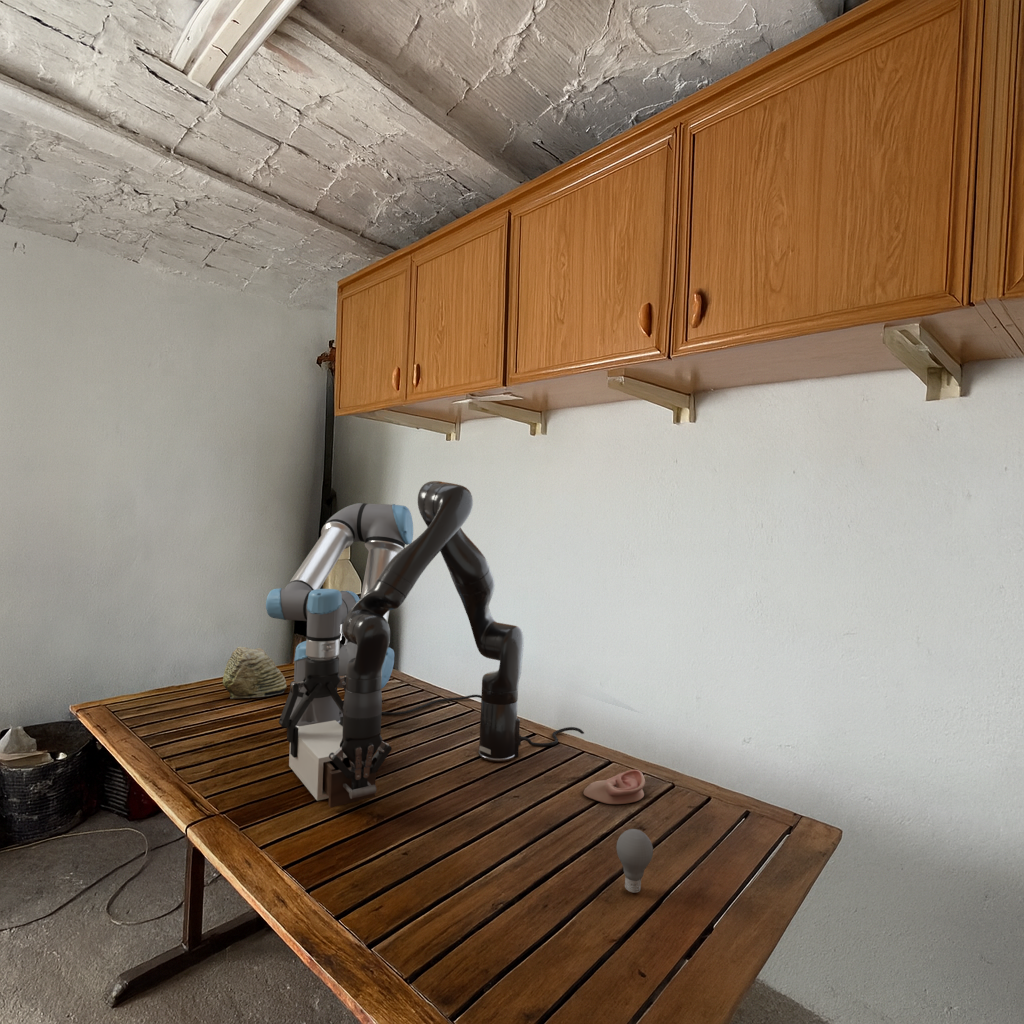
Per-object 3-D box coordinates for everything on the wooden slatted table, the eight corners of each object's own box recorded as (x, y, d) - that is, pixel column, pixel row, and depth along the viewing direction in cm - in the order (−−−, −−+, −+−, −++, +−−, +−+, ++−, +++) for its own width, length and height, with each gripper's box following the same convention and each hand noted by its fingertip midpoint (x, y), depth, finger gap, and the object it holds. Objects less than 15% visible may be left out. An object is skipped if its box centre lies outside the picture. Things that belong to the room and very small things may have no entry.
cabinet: (366, 789, 138) (367, 748, 138) (317, 801, 132) (318, 758, 132) (333, 756, 154) (335, 720, 154) (288, 765, 148) (290, 727, 148)
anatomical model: (582, 782, 137) (587, 761, 148) (581, 800, 137) (586, 778, 148) (645, 790, 134) (645, 768, 145) (644, 809, 134) (644, 785, 145)
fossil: (218, 695, 195) (220, 647, 195) (278, 685, 208) (279, 640, 207) (228, 703, 189) (230, 653, 188) (289, 692, 201) (290, 645, 201)
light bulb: (610, 879, 108) (613, 822, 108) (644, 879, 109) (647, 822, 109) (619, 902, 102) (622, 840, 102) (655, 901, 103) (658, 840, 103)
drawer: (386, 807, 128) (387, 773, 128) (340, 819, 123) (341, 784, 123) (342, 764, 148) (344, 735, 148) (301, 773, 142) (302, 742, 142)
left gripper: (275, 666, 137) (271, 766, 138) (376, 654, 151) (372, 746, 151) (266, 658, 143) (262, 754, 144) (363, 648, 157) (360, 736, 157)
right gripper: (336, 721, 120) (333, 811, 121) (400, 710, 128) (397, 795, 128) (323, 709, 126) (320, 795, 127) (385, 699, 134) (382, 780, 135)
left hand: (318, 750), depth 147 cm, fingers closed on cabinet, 11 cm apart
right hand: (359, 795), depth 128 cm, fingers closed
